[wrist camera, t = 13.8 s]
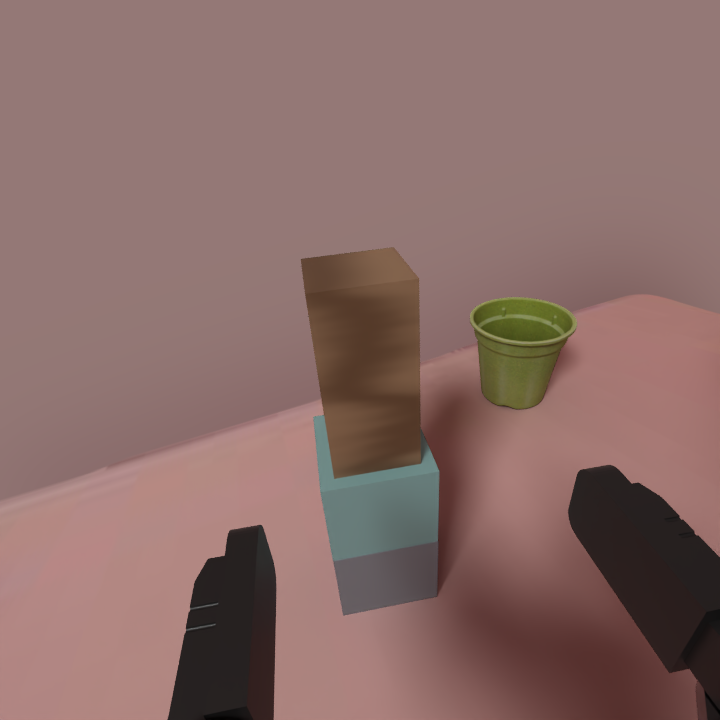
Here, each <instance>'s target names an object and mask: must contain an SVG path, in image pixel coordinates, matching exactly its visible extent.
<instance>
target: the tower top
mask: <svg viewBox="0 0 720 720" xmlns="http://www.w3.org/2000/svg"><path fill="white" fill-rule="evenodd" d="M313 418H314V428H315V439H316V450H317V460H318V471H319V481H320V492H321V497H322V503H323V508H324V514H325V519H326V525H327V530H328V536H329V541H330V547H331V552H332V557H333V561H335V560H340V559H346V558H351V557H356V556H361V555H367V554H372V553H377V552H383V551H388V550H393V549H398V548H404V547H409V546H414V545H420V544H425V543H430V542H435V541H438V512H439V469H438V467H437V465H436V462H435V460H434V458H433V455H432V453H431V451H430V448H429V446H428V444H427V441H426V439H425V437H424V434H423V432H422V430H421V427H420V430H421V464H417V465H411V466H405V467H400V468H394V469H388V470H383V471H377V472H371V473H365V474H360V475H354V476H348V477H343V478H337V479H334V475H333V469H332V462H331V456H330V449H329V443H328V437H327V430H326V424H325V417H324V415H322V416H315V417H313Z"/></svg>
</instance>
